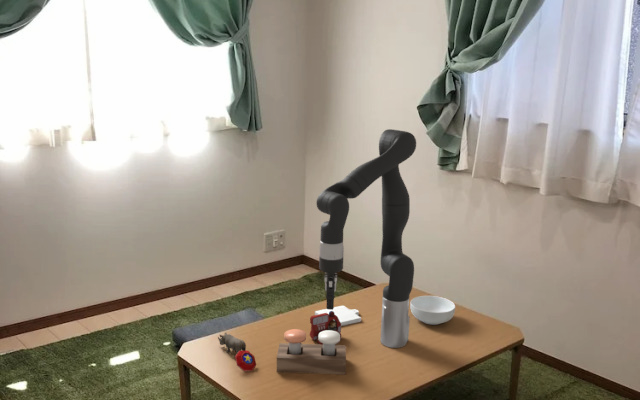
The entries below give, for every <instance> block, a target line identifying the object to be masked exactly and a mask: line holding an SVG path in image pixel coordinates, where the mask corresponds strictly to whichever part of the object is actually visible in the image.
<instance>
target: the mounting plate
mask: <svg viewBox="0 0 640 400" xmlns="http://www.w3.org/2000/svg"><path fill="white" fill-rule="evenodd" d="M330 311H333V312H334V315H336V316H337V317H338V319H339V321H340V323H341V327H343V326H349V325H352V324H357V323H361V322H362V317H361V316H359V313H360V312H359V310H358V309H355V308H353V309H350V308H348V307H346V306H345V305H339V306H334V308H333V309H332V310H330V309H327V308H325V309H324V308H323V309H320V310H314V315H318V314H323V313H327V314H329V312H330ZM334 321H335V320H334ZM335 327H336V326H335Z"/></svg>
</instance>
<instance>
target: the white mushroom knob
mask: <svg viewBox="0 0 640 400" xmlns="http://www.w3.org/2000/svg"><path fill="white" fill-rule="evenodd" d="M318 340H319V341H320V342H321V343H323V355H325V356H334V355H335V345H337V344H338V343H339V342H341V339H340V334H339V333H338V332H336V331H332V330H325V331H322V332H320V333H319V335H318V339H317V341H318Z"/></svg>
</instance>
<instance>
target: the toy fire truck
mask: <svg viewBox="0 0 640 400" xmlns="http://www.w3.org/2000/svg"><path fill="white" fill-rule="evenodd" d="M334 320H335V321H334ZM309 322H310V323H309V324H310V332H309V337H310V338H311V340H314V341H316V340H317V344H319V345H323V343H321V342H320V341H319V340H318V335H319V333H320V332H322V331H325V330H332V331H336V332H338V333H339V334H340V340H341V339H342V334H341V332H342V326H341V323H340V321H339V319H338V317H337V316H336V315H334V312H333V311H330V312H329V314H327V313H323V314H318V315H315V314H314V315H311V316H310V320H309ZM335 326H336V327H335Z"/></svg>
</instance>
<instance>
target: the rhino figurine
mask: <svg viewBox="0 0 640 400" xmlns="http://www.w3.org/2000/svg"><path fill="white" fill-rule="evenodd" d="M217 339H218V341H219V344H220V346H224V345H225V347H226V351H225V353H228V354H229V353H231V351H233V352H235V353H236V354H237V353H238V352H239V351H247V350H246V349H247V345H246V342H245V341H244V340H242V339H240V338H237V337H235V336H234V335H232V334H231V333H227V332H224V334H223V335H222V334H219V336H217Z"/></svg>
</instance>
